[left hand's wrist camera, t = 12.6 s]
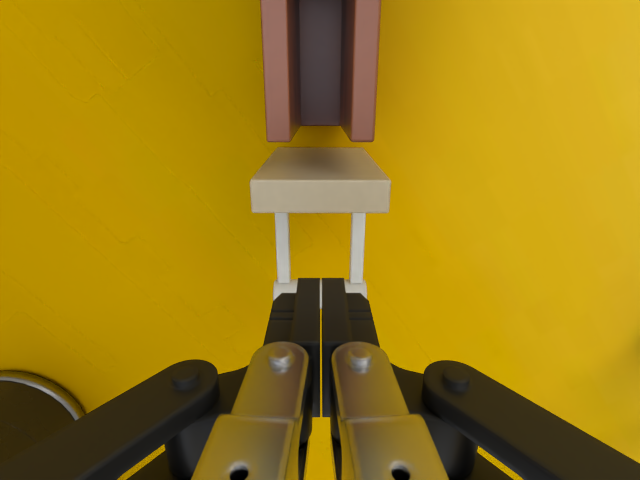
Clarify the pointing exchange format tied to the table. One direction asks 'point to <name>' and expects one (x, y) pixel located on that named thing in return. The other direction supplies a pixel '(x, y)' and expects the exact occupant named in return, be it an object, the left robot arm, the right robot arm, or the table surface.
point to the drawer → (320, 121)
